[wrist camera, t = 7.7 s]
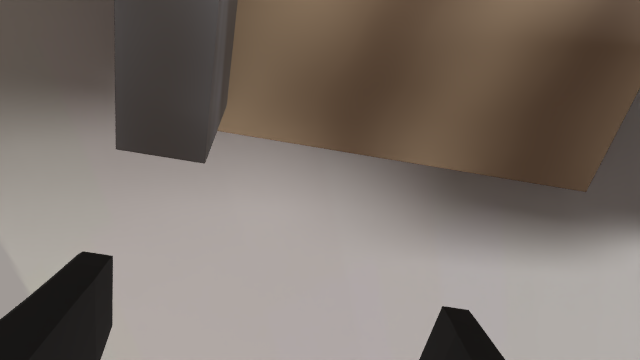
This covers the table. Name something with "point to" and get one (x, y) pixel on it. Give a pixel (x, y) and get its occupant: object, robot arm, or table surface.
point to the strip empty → (383, 80)
